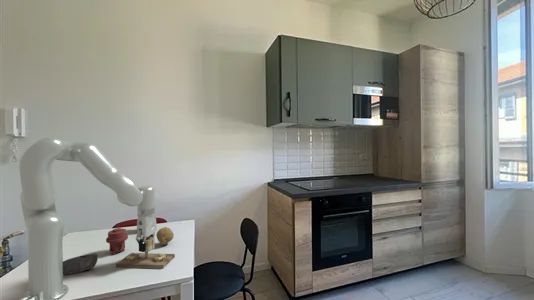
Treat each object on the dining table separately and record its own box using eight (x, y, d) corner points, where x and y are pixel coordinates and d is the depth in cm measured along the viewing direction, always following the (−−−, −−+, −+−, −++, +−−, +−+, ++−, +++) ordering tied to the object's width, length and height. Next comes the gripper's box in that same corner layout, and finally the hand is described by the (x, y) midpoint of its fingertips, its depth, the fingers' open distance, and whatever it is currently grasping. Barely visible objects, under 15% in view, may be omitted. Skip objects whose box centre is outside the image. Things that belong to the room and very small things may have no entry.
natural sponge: (171, 240, 145) (171, 224, 145) (175, 245, 138) (175, 228, 138) (155, 243, 141) (155, 226, 140) (157, 249, 133) (157, 231, 133)
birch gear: (149, 252, 115) (149, 241, 115) (136, 252, 115) (135, 241, 115) (157, 246, 122) (157, 236, 121) (144, 246, 122) (144, 236, 122)
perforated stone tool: (53, 278, 103) (53, 262, 103) (58, 272, 108) (58, 257, 108) (95, 271, 110) (95, 255, 110) (98, 266, 114) (98, 251, 114)
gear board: (163, 268, 111) (163, 253, 111) (115, 267, 113) (115, 252, 113) (174, 256, 123) (174, 243, 123) (131, 255, 125) (131, 242, 125)
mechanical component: (132, 249, 134) (117, 257, 124) (116, 247, 136) (101, 255, 126) (132, 226, 133) (117, 233, 124) (116, 225, 135) (101, 231, 126)
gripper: (143, 217, 109) (144, 256, 109) (162, 207, 126) (163, 241, 127) (127, 216, 110) (128, 255, 110) (148, 207, 127) (149, 241, 127)
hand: (146, 247), depth 118 cm, fingers closed on birch gear, 6 cm apart
